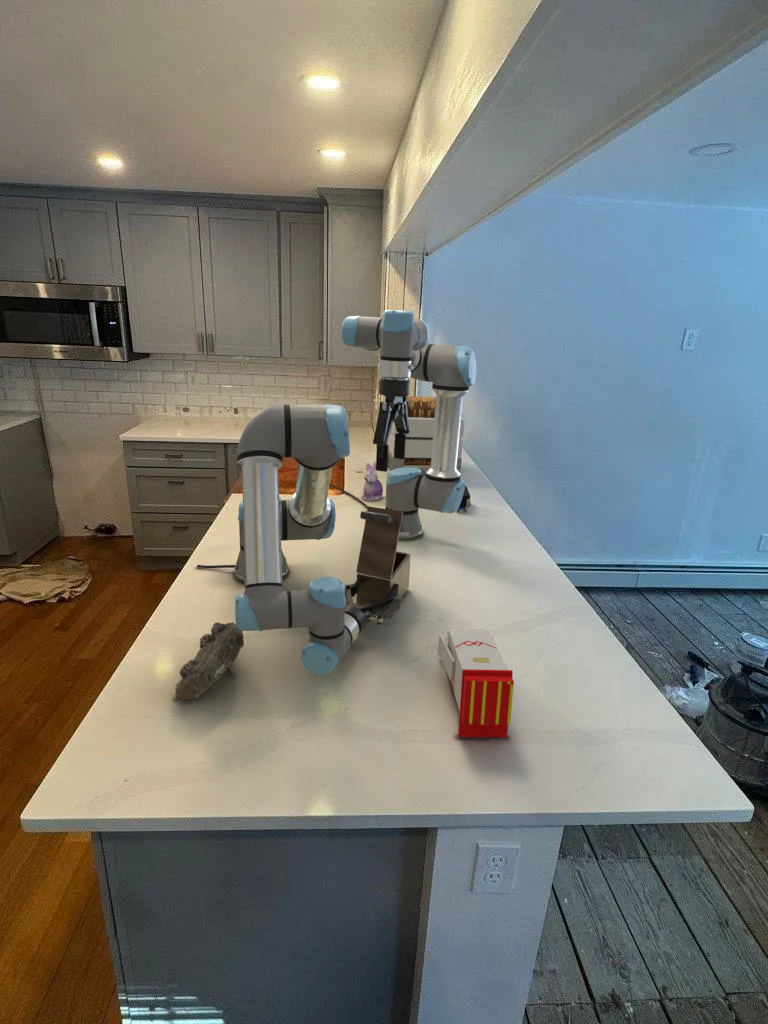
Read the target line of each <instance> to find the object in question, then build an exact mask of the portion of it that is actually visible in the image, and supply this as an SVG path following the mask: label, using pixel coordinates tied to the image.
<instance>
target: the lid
mask: <svg viewBox="0 0 768 1024" xmlns="http://www.w3.org/2000/svg"><path fill="white" fill-rule="evenodd" d="M367 506H368V509H367V508H366V509H367V510H361V511H360V514H359V515H360V517H359V518H360V519H361V520H364V528H363V533H362V538H361V543H360V549H359V554H358V559H357V565H356V566H357V567H356V571H355V572H356V573H363V574H368V575H373V576H377V577H382V578H387V579H392V573H393V567H394V562H395V556H396V551H397V549H398V545H399V540H398V539H399V533H400V528H401V522H402V516H403V512H401V511H395V510H388V509H385V508H382V507H376V506H370V505H367Z"/></svg>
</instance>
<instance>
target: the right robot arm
mask: <svg viewBox="0 0 768 1024" xmlns="http://www.w3.org/2000/svg"><path fill="white" fill-rule="evenodd" d="M340 330H341V331H340V335H341V340H342V342H343V343H344V345H345V346H347V347H352V348H362V349H364V350H366V351H368V352H370V353H372V354H373V355H375V356H377V357H379V368H378V369H379V372H378V375H379V377H380V379H378V394H379V395H381V396H384V397H385V398H384V401H380V402H379V405H378V406H379V407H378V408H379V409H378V410H379V411H378V416H377V420H376V425H375V431H374V436H373V440H372V444H373V445H376V455H375V457H376V459H375V462H376V472H384V473H387V472H388V473H387V475H386V482H385V504H384V505H385V507H384V509H388V510H395V511H401V512H403V516H402V522H401V528H400V533H399V539H398V541H410V540H415V539H418V538H420V537H421V536H422V535H423V525H422V524H421V518H420V515H419V509H420V510H427V511H433V512H438V513H442V514H443V513H444V514H454V513H456V512H457V509H458V507H459V505H460V503H461V501H462V498H463V494H464V490H465V486H466V482H465V480H463V479H461V474H460V472H459V471H458V470H457V457H458V447H459V436H460V426H461V418H462V417H461V415H462V416H463V403H464V396H465V395H466V394H467V393H468V392H469V390H470V387H472V386H474V385H475V383H476V377H477V359H476V355H475V352H474V350H473V349H472V348H471V347H469V346H464V345H458V344H457V345H455V344H454V345H451V344H438V343H437V344H436V343H435V344H434V343H433V344H432V343H429V342H430V340H431V337H432V334H431V328H430V326H429V325H428V323H427V322H426V321H424V320H423V319H420V318H415V314H414V312H413V311H412V310H398V309H385V310H384V311H382V314H381V317H379V316H378V317H375V316H362V315H361V316H360V315H351V316H347V317H345V318H344V320H343V322H342V325H341V329H340ZM410 378H412V379H414V380H417V381H420V382H427V383H428V382H429V383H432V385H431V389H432V391H433V392H434V393H435V397H436V406H435V419H434V431H433V444H432V456H431V465H430V466H429V468H427V469H426V470H425V474H424V473H423V474H422V470H421V468H419V467H416V466H404V467H403V468H397V469H393V470H391V471H390V470H389V471H388V468H389V467H388V447H389V445H387V442H388V439H389V435H390V432H391V428H392V424H393V422H394V423H395V427H396V431H397V433H395V447H394V458H397V459H405V442H406V434H409V432H410V430H408V429H409V421H408V411H407V396H410V394H411V380H410ZM405 433H406V434H405ZM329 487H332V488H335V489H336V490H339V491H340V492H342V493H345V494H346V495H348V496H350V497H352V498H353V499H354V500H356V501H358V502H359V503H360V504H361V505H363V507H365V508H366V509H368V506H369V505H367V504H366V503H365V502H364V501H362V500H361V499H360V498H358V497H357V496H356V495H354V494H352V493H351V492H349V491H347V490H345V489H343V488H341V487H338V486H337V485H334V484H332V483H331V482H330V485H329Z"/></svg>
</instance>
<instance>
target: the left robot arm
mask: <svg viewBox="0 0 768 1024" xmlns="http://www.w3.org/2000/svg"><path fill="white" fill-rule="evenodd" d="M347 413H348V412H347V410H346V408H345V407H344V406H342V405H337V404H331V403H325V404H283V403H277V404H276V403H275V404H272V405H268V406H266V407H264V408H262V409H261V410H259V411H258V412H257V413H256V414H254V416H253V417H252V418H251V419H250V420H249V421H248V423H247V424H246V426H245V427H244V430H243V431H242V434H241V436H240V439H239V441H238V446H237V450H236V451H237V452H236V465H237V468H238V469H239V470H241V475H242V476H241V477H242V479H241V480H242V501H240V503H239V505H238V516H237V520H238V528H239V529H238V530H239V532H238V533H239V552H238V556H237V560H236V562H235V564H218V565H217V564H215V565H205V564H196V568H200V569H228V568H230V569H231V568H233V569H234V577H235V578H236V579H237V580H238V581H239V582H242V583H244V592H242V593H238V594H236V596H235V600H234V616H235V617H234V618H235V624H236V626H237V628H238V629H239V630H240V631H242V632H262V631H272V630H283V629H284V630H285V629H286V630H287V629H300V628H308V642H307V643H306V644H305V645H304V647H303V649H302V650H301V651H300V652H301V653H300V661H301V664H302V667H304V669H305V670H306V671H307V672H308V673H310V674H311V675H313V676H318V677H324V676H327V675H329V674H330V673H332V671H333V670H334V669H335V668H336V667H338V665H339V663H340V662H341V661H342V660H343V658H344V657H345V656H346V654H347V652H348V651H349V649H350V648H351V647H352V645H353V644H354V643H355V641H356V640H357V639H358V637H359V636H360V635H361V633H362V632H363V631H364V629H365V628H366V626H367V624H370V623H371V622H376V623H377V624H376V625H377V626H382V625H383V624H384V622H385V621H386V620H387V619H389V618H390V617H392V615H394V614H396V613H397V612H398V611H399V610H400V608H401V606H400V605H401V600H400V599H398V587H399V584H395V586H394V587H393V588H392V590H391V591H390V592H389V594H388V596H387V598H385V599H383V600H380V601H378V602H375V603H373V604H371V603H368V604H366V605H360V604H357V602H354V601H353V598H354V597H355V596H356V595H357V580H356V581H354V583H350V584H344V583H343V581H341V580H340V579H338V578H336V577H331V576H320V577H319V578H314V579H312V580H311V581H310V582H309V584H308V588H307V589H303V590H302V589H301V590H287V591H286V590H284V591H283V579H285V578H286V577H287V576H288V574H289V565H288V563H287V558H286V556H285V554H284V552H283V549H282V542H284V541H303V540H305V541H306V540H309V541H310V540H316V541H321V540H324V539H325V540H327V539H330V537H332V535H333V533H334V531H335V526H336V525H335V524H336V518H337V517H336V515H337V514H336V505H335V503H334V500H332V499H331V498H329V497H328V496H329V492H330V491H329V489H330V483H331V479H332V473H333V472H332V471H333V467H336V465H338V463H339V461H340V459H343V458H346V457H349V456H350V453H351V445H350V434H349V433H350V431H349V422H348V414H347ZM283 458H293V459H294V460H295V462H296V463H297V465H296V482H295V493H294V494H293V495H292V496H291V498H290V499H282V498H281V497H280V488H279V487H280V485H279V470H280V469H281V468H283Z"/></svg>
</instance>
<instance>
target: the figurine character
mask: <svg viewBox="0 0 768 1024" xmlns="http://www.w3.org/2000/svg"><path fill="white" fill-rule="evenodd" d="M471 501H472V500H471V494H470V491H469V488H468V486H467V485H465V490H464V494H463V498H462V501H461V503H460V505H459V507H458V509H457V510H456V512H460V510H463V511H464V513H466V512H467V509H470V508H471V505H472V504H471ZM466 508H467V509H466Z"/></svg>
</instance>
